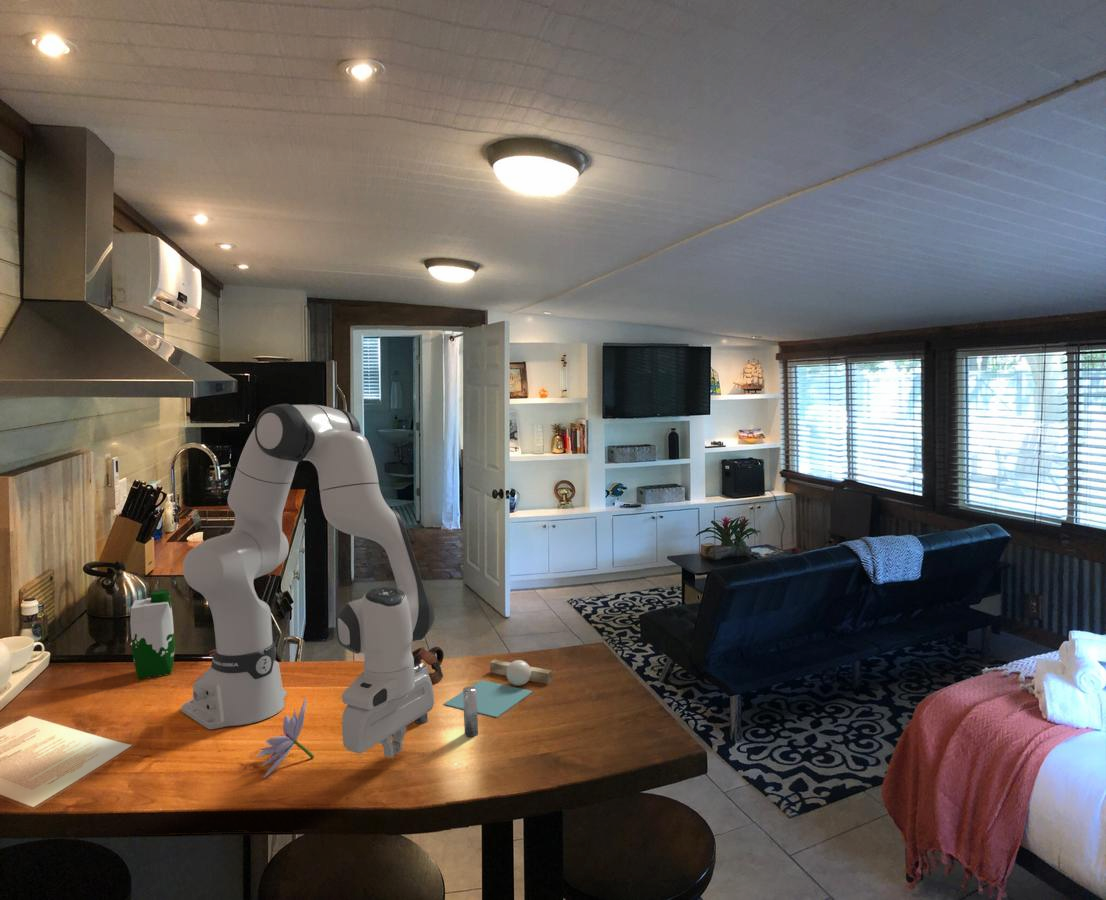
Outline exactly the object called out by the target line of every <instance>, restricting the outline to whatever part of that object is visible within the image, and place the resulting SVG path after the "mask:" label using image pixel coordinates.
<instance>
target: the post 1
mask: <svg viewBox="0 0 1106 900" xmlns="http://www.w3.org/2000/svg"><path fill="white" fill-rule="evenodd" d="M428 719H429V718H428V712H427V713H426V714H424V715H422V716H421V717H419V718H418V719H416V720H414V723H415V724H417V725H420V724H425V723H427V722H428Z"/></svg>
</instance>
